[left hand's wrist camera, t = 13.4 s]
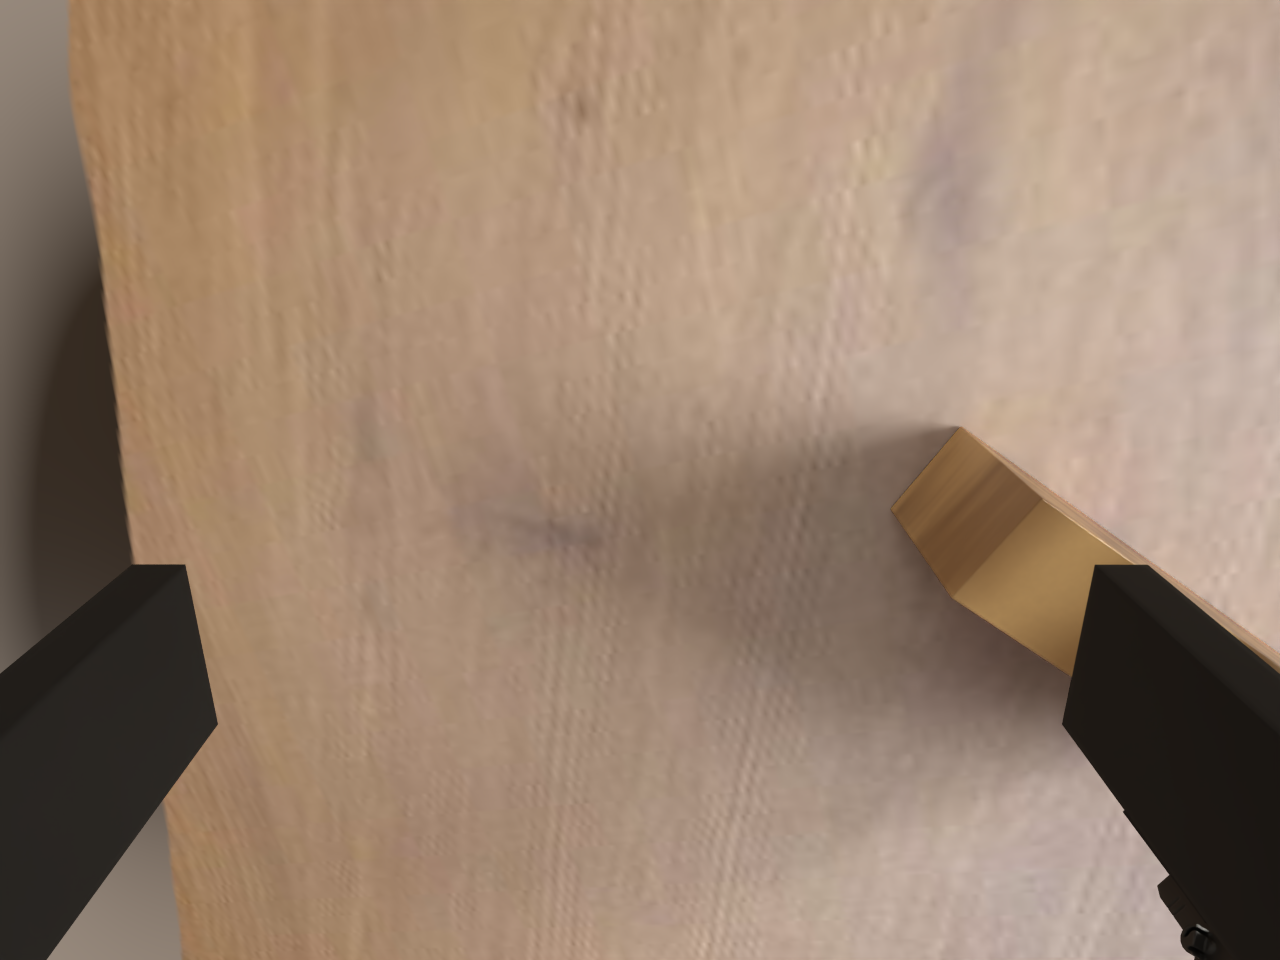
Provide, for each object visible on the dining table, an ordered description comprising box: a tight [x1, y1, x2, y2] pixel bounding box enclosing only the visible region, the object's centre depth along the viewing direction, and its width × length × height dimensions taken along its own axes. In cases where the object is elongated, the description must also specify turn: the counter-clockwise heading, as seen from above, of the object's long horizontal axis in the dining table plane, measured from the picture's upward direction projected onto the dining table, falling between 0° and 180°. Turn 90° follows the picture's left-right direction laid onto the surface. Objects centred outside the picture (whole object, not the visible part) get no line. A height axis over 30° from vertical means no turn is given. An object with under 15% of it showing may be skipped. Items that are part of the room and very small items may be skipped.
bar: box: [891, 427, 1280, 678], centre depth 39 cm, size 22×5×9 cm, turn 56°
